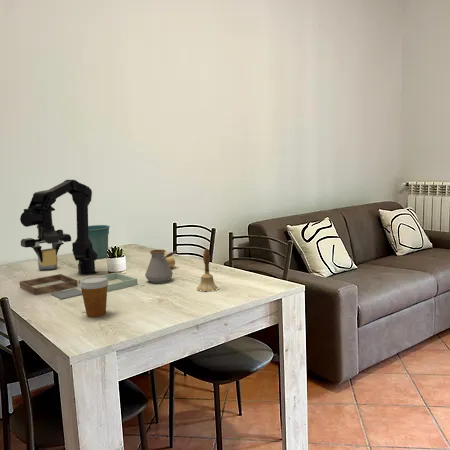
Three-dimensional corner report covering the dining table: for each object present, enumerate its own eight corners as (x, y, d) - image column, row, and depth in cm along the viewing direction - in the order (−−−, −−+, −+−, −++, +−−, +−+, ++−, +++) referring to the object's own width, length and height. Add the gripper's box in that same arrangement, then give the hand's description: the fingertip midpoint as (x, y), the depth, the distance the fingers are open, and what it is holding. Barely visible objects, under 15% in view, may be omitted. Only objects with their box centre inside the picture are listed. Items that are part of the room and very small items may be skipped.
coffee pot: (140, 280, 207) (138, 246, 205) (164, 276, 213) (162, 242, 211) (166, 291, 190) (164, 253, 188) (191, 285, 197) (189, 248, 194)
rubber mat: (75, 289, 197) (75, 288, 197) (86, 293, 190) (86, 292, 189) (50, 294, 190) (50, 293, 190) (61, 299, 183) (61, 298, 183)
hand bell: (221, 286, 193) (219, 247, 191) (213, 292, 185) (212, 251, 183) (201, 285, 196) (199, 246, 194) (193, 291, 188) (191, 250, 186)
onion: (176, 266, 232) (176, 251, 231) (173, 270, 224) (172, 255, 223) (160, 266, 233) (159, 251, 232) (156, 270, 225) (155, 255, 224)
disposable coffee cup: (84, 310, 169) (82, 276, 167) (112, 309, 169) (110, 275, 168) (78, 319, 159) (76, 283, 158) (108, 318, 160) (106, 282, 158)
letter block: (52, 262, 203) (50, 248, 202) (56, 264, 199) (55, 249, 198) (40, 264, 200) (38, 249, 199) (44, 266, 196) (43, 251, 195)
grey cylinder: (56, 270, 232) (55, 254, 231) (38, 271, 231) (37, 255, 230) (59, 265, 243) (57, 250, 242) (41, 267, 241) (40, 251, 240)
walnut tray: (61, 279, 214) (60, 273, 214) (77, 286, 202) (77, 280, 201) (19, 287, 202) (19, 281, 202) (34, 295, 190) (34, 289, 190)
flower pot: (94, 261, 249) (92, 230, 246) (73, 258, 258) (71, 228, 255) (118, 255, 262) (116, 225, 260) (97, 253, 271) (95, 224, 269)
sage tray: (117, 278, 213) (116, 272, 213) (137, 284, 201) (137, 278, 200) (79, 286, 202) (78, 280, 201) (97, 293, 189) (97, 287, 189)
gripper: (28, 227, 185) (32, 268, 187) (75, 222, 197) (78, 260, 199) (18, 225, 193) (22, 263, 195) (64, 220, 205) (67, 256, 207)
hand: (48, 261), depth 199 cm, fingers closed on letter block, 5 cm apart
